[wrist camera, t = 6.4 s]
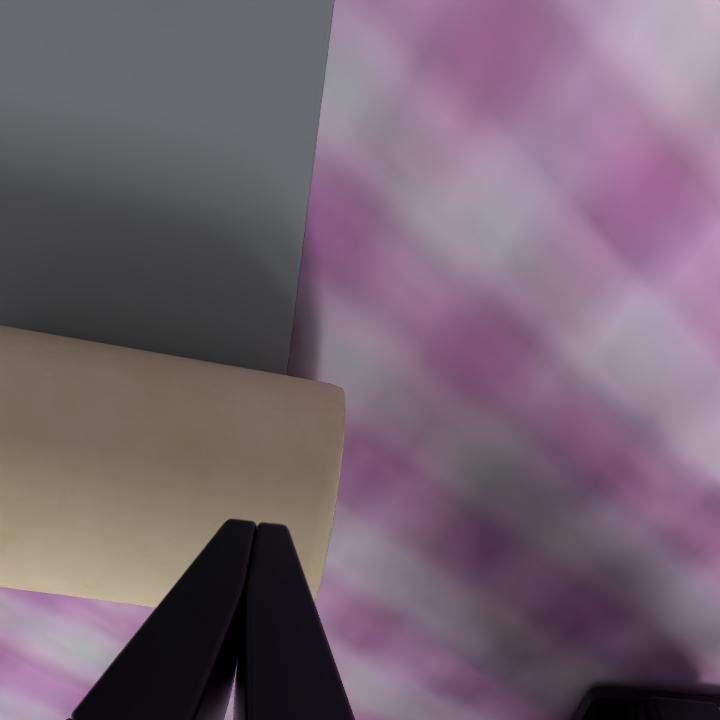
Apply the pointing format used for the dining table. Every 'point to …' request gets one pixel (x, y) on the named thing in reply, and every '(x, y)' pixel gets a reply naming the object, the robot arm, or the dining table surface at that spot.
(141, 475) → the candle
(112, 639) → the dining table surface
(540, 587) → the dining table surface
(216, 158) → the rubber mat
